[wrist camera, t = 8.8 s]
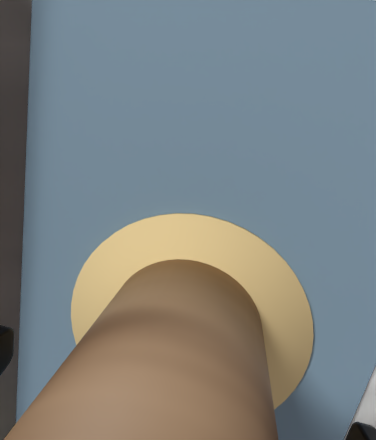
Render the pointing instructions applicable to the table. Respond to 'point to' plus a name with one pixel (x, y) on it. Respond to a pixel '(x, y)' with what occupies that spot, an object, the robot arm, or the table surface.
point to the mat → (208, 179)
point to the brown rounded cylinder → (163, 365)
